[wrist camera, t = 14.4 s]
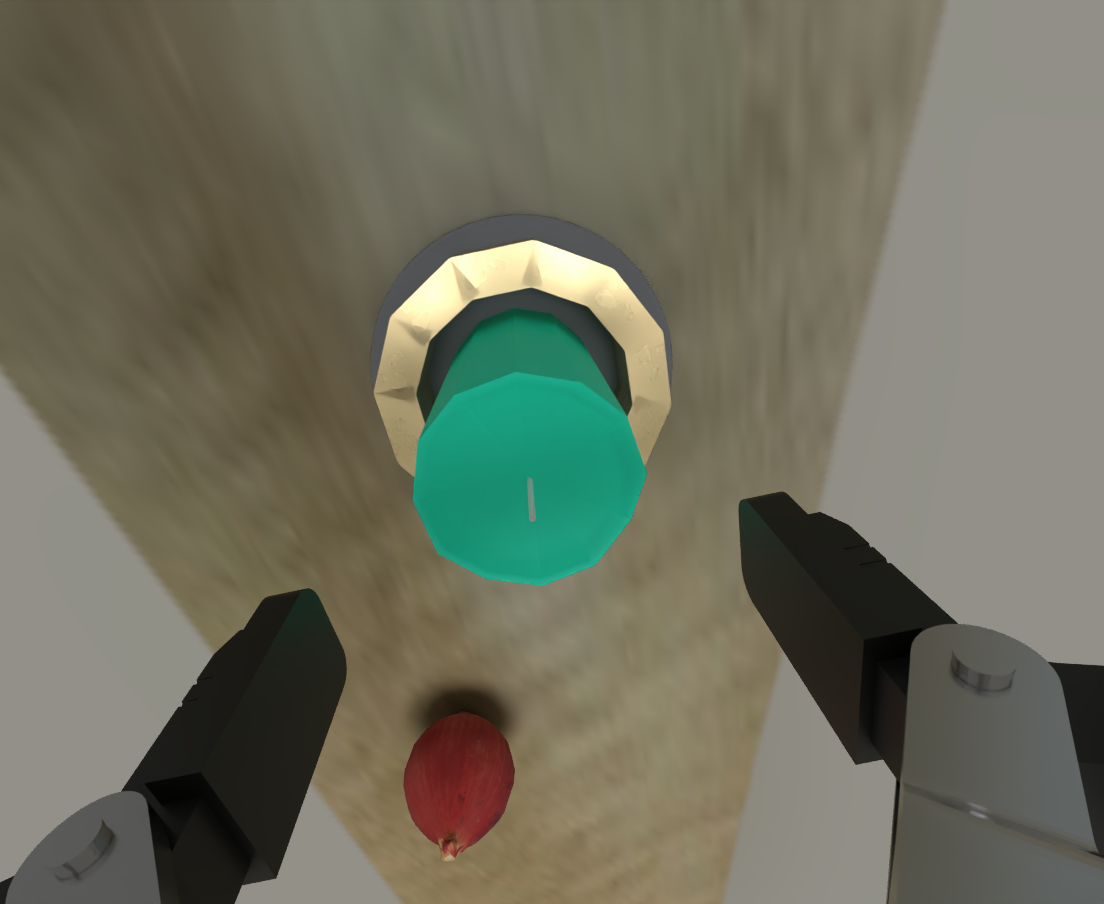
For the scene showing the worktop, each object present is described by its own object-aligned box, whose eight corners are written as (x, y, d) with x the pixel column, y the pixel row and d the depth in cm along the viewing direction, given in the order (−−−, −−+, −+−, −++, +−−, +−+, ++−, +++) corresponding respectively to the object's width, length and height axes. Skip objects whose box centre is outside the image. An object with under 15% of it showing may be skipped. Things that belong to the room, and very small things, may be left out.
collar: (436, 512, 25) (427, 547, 23) (358, 274, 21) (334, 282, 18) (663, 465, 25) (681, 494, 22) (632, 215, 21) (650, 214, 18)
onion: (533, 708, 32) (538, 851, 25) (475, 762, 34) (464, 911, 26) (454, 665, 30) (436, 805, 23) (397, 723, 32) (363, 872, 25)
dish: (425, 523, 27) (422, 533, 26) (332, 252, 21) (324, 253, 21) (679, 470, 26) (685, 479, 26) (648, 183, 21) (654, 182, 20)
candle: (509, 466, 25) (507, 661, 14) (423, 363, 23) (338, 497, 12) (617, 391, 24) (710, 538, 13) (537, 276, 21) (565, 332, 10)
